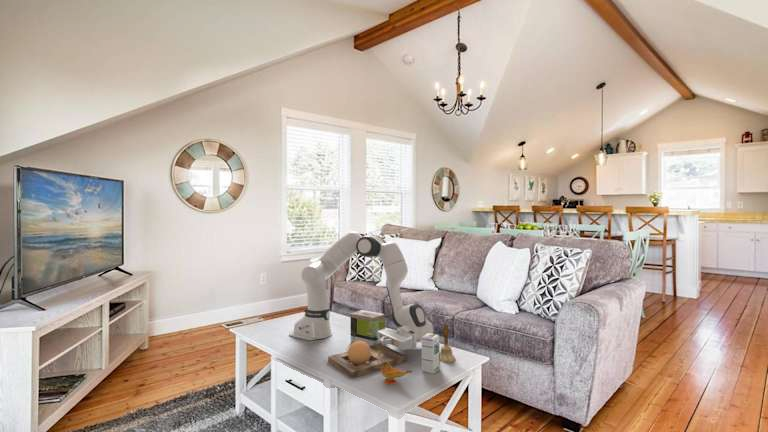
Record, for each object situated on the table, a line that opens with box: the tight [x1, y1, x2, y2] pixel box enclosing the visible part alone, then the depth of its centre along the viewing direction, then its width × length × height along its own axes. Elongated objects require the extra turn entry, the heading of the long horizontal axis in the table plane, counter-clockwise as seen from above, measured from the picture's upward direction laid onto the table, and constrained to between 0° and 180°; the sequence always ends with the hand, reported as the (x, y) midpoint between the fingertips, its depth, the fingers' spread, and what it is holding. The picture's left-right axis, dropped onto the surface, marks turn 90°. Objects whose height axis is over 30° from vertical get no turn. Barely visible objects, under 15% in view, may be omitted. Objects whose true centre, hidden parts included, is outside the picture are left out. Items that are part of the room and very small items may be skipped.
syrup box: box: [420, 333, 441, 374], centre depth 164 cm, size 6×6×14 cm
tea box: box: [350, 309, 386, 346], centre depth 197 cm, size 15×10×15 cm, turn 54°
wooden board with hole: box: [327, 343, 408, 379], centre depth 173 cm, size 28×20×2 cm
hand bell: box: [440, 322, 457, 363], centre depth 176 cm, size 8×8×16 cm
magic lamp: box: [377, 349, 413, 385], centre depth 153 cm, size 7×18×11 cm, turn 48°
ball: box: [347, 341, 371, 366], centre depth 170 cm, size 10×10×10 cm
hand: (380, 342), depth 176 cm, fingers closed
